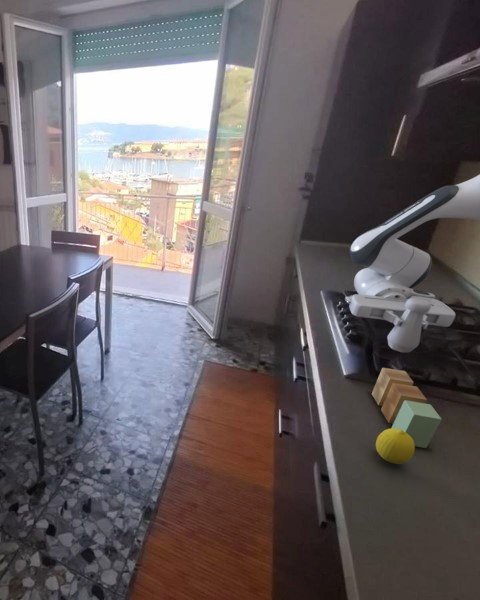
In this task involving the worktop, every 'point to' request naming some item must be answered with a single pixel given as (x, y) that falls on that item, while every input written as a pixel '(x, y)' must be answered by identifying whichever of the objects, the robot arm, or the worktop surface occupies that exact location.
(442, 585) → the worktop surface
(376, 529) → the worktop surface
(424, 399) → the block
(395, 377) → the block
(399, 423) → the block
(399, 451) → the lemon
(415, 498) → the worktop surface
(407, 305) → the salt shaker
